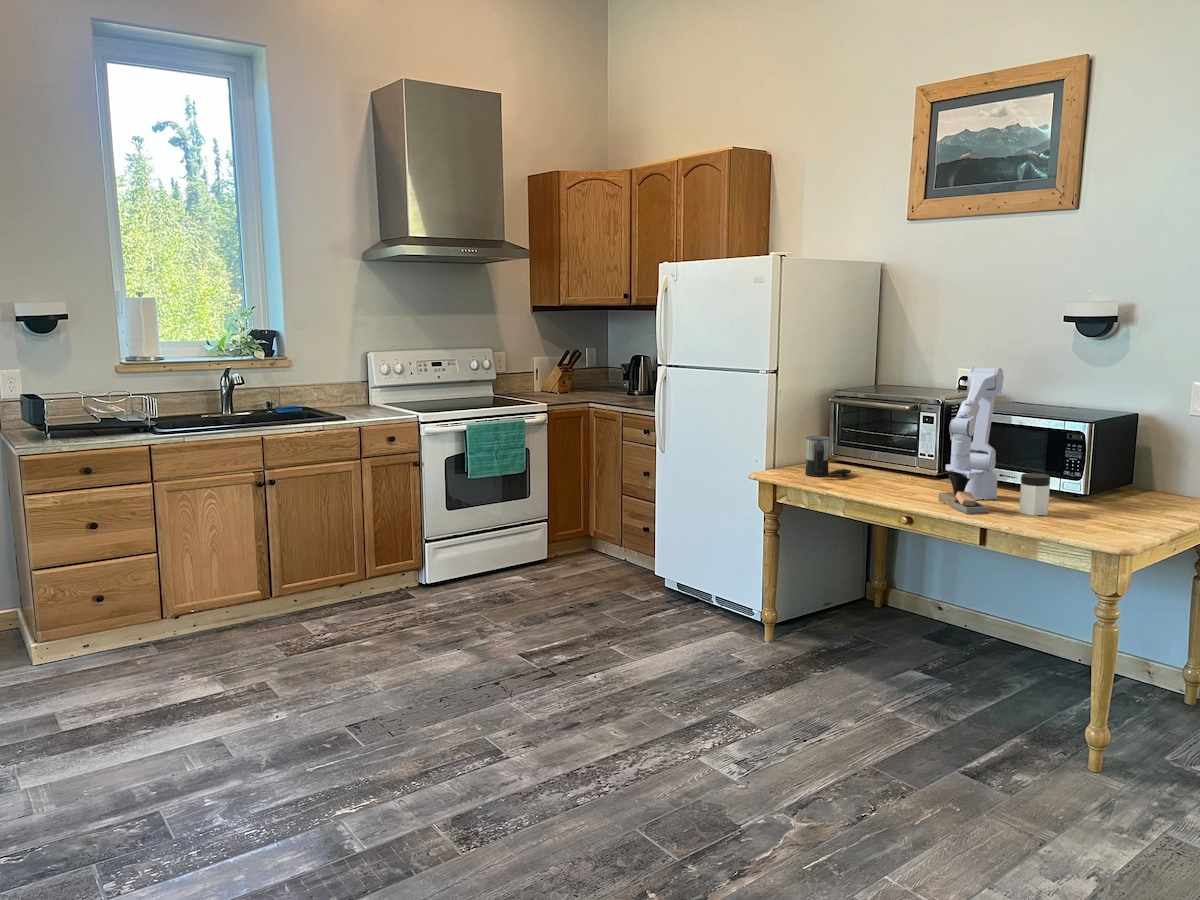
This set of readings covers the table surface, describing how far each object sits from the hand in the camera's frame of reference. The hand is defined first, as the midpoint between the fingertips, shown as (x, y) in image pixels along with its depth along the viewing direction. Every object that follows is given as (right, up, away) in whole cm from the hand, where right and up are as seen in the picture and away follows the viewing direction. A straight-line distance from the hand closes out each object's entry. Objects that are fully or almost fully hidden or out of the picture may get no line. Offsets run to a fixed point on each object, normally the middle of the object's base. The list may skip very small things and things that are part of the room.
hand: (958, 496), depth 280 cm
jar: (+20, -5, -8) cm, 22 cm away
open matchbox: (+1, -3, +5) cm, 6 cm away
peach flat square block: (+1, -1, -2) cm, 3 cm away
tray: (+2, -4, -4) cm, 7 cm away
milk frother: (-28, +5, +55) cm, 62 cm away
